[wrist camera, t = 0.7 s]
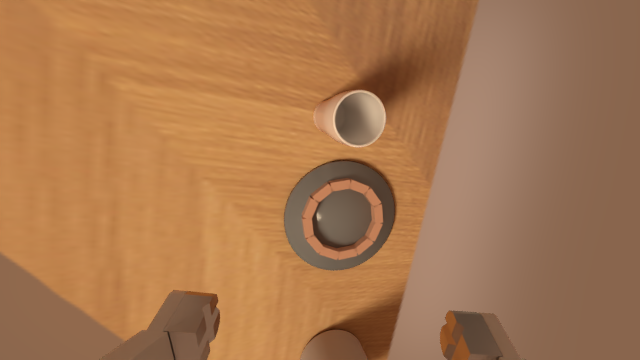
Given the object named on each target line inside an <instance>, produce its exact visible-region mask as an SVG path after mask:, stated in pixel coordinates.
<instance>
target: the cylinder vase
mask: <svg viewBox="0 0 640 360" xmlns="http://www.w3.org/2000/svg"><path fill="white" fill-rule="evenodd" d="M300 360H368V358H367V356H366V354H365V352H364V350H363V348H362V346H361V344H360V342H359V340H358V339H357V338H356V337H355V336H354V335H353V334H351V333H349V332H347V331H344V330H329V331H326V332H323V333H321V334H319V335H317V336H316V337H314V338H313V339H312V340H311V341H310V342H309V343H308V344H307V345H306V347H305V348H304V350H303V352H302V355H301V359H300Z"/></svg>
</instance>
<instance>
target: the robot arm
mask: <svg viewBox="0 0 640 360" xmlns="http://www.w3.org/2000/svg"><path fill="white" fill-rule="evenodd" d="M217 303H218V297H217V294H211V293H201V292H191V291H179V290H173V291H172V292H171V293H170V294H169V295H168V297H167V298H166V300H165V301H164V303H163V305H162V306H161V308H160V309H159V311H158V313H157V314H156V316H155V317H154V319H153V321H152V322H151V324H150V325H149V327H148V329H147V330H142V331H140V332H139V333H137V334H136V335H134V336H133V337H131V338H130V339H128V340H127V341H125V342H124V343H123V344H121V345H120V346H118V347H117V348H115V349H114V350H112V351H111V352H110V353H108V354H106V355H105V356H103V357H102V358H100V359H99V360H207V358H208V355H209V352H210V347H209V343H210V342H211V341H213V340H214V339H215V337H216V334H217V331H218V327H219V322H220V311H219V309H218V308H217V307H216V305H217ZM445 319H446V322H447V324H446V325H444V326H443V327H442V329H441V332H440V344H441V349H442V352H443V355H444V357H445V358H446V359H447V360H526V359H521V358H520V356H519V354H518V353H517V351H516V349H515V347H514V346H513V344H512V342H511V341H510V339H509V337H508V335H507V334H506V332H505V330H504V328H503V326H502V325H501V323H500V321H499V320H498V318H497V316H496V315H495V314H490V313H477V312H463V311H449V312H448V313H447V314H446V317H445Z"/></svg>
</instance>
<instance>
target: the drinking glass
mask: <svg viewBox="0 0 640 360" xmlns="http://www.w3.org/2000/svg"><path fill="white" fill-rule="evenodd" d="M313 119H314V123H315V125H316V127H317V128H318V129H319V130H320V131H322V132H324V133H326V134H327V135H328V136H330V137H331V138H332V139H334V140H335V141H337V142H339V143H341V144H344V145H347V146H352V147H365V146H368V145H370V144H372V143H373V142H375V141H376V140H377V139H378V138H379V137H380V135H381V134H382V132H383V130H384V128H385V124H386V111H385V108H384V105H383V103H382V102H381V100H380V99H379V98H378V97H377V96H376V95H375V94H373V93H371V92H369V91H366V90H351V91H346V92H342V93H340V94H337V95H335V96H334V97H332V98H330V99H328V100H324V101H322V102H321V103H319V104H318V105H317V107H316V108H315V110H314V114H313Z"/></svg>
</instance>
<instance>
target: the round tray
mask: <svg viewBox="0 0 640 360" xmlns="http://www.w3.org/2000/svg"><path fill="white" fill-rule="evenodd" d="M394 212H395V207H394V200H393V196H392V193H391V191H390V188H389V187H388V185H387V183H386V182H385V181H384V179H383V178H382V177H381V176H380V175H379V174H378V173H377V172H375V171H374V170H373V169H371V168H369V167H367V166H365V165H363V164H360V163H357V162H352V161H334V162H330V163H326V164H323V165H321V166H318V167H317V168H315V169H313V170H311V171H310V172H309V173H307V174H306V175H305V176H304V177H303V178H301V180H300V181H299V182H298V183H297V184H296V185H295V187H294V188H293V190H292V192H291V194H290V196H289V198H288V200H287V203H286V207H285V212H284V227H285V231H286V235H287V238H288V241H289V243H290V245H291V247H292V248H293V250H294V251H295V252H296V254H297V255H298V256H299V257H300V258H301V259H303V260H304V261H305V262H307V263H308V264H310V265H312V266H315V267H317V268H320V269H325V270H344V269H349V268H352V267H355V266H357V265H360V264H362V263H363V262H365V261H367V260H368V259H369V258H371V257H372V256H373V255H374V254H376V253H377V252H378V250H379V249H380V248H381V247H382V246H383V244H384V243H385V241H386V240H387V238H388V236H389V234H390V231H391V229H392V225H393V222H394Z"/></svg>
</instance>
